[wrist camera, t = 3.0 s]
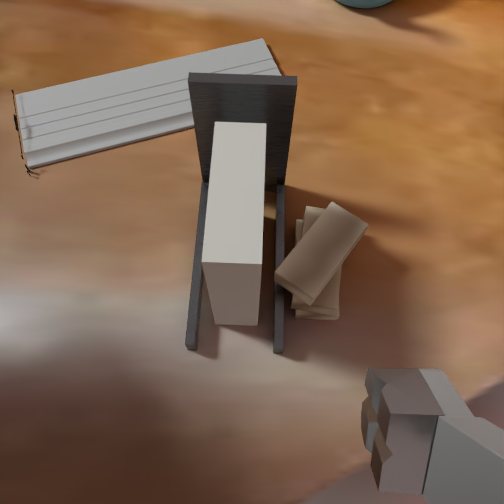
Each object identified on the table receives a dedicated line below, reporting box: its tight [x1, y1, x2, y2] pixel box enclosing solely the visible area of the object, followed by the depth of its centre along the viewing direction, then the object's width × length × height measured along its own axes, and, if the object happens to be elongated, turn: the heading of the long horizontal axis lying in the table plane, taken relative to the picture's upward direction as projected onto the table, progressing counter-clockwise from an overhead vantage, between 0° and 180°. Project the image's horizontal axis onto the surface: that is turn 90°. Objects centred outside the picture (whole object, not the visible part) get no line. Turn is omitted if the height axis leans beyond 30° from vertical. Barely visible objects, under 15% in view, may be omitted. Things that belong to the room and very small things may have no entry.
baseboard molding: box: [12, 38, 282, 176], centre depth 54 cm, size 31×3×12 cm
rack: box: [185, 72, 297, 353], centre depth 39 cm, size 9×18×15 cm, turn 178°
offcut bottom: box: [295, 219, 340, 320], centre depth 45 cm, size 4×10×2 cm, turn 177°
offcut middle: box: [291, 206, 342, 316], centre depth 43 cm, size 4×10×2 cm, turn 170°
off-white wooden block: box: [202, 122, 266, 326], centre depth 39 cm, size 4×12×14 cm, turn 178°
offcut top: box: [274, 202, 369, 306], centre depth 41 cm, size 4×9×2 cm, turn 143°
